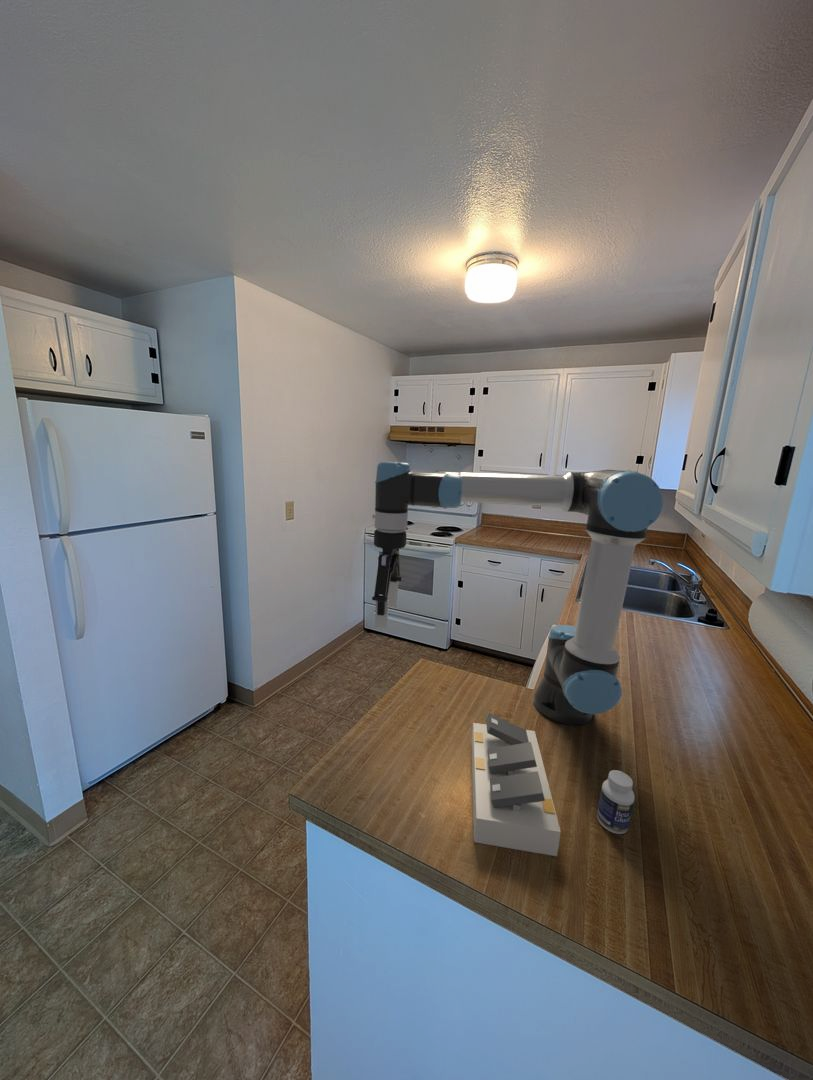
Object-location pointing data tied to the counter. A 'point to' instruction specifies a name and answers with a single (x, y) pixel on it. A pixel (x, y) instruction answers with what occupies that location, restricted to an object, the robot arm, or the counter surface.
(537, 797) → the block
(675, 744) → the counter surface
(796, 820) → the counter surface
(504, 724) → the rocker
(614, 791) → the pill bottle
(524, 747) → the block
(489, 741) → the switch unit
